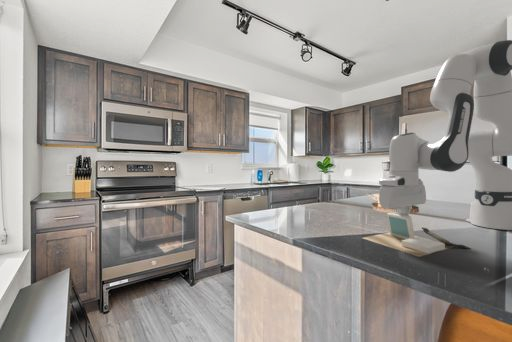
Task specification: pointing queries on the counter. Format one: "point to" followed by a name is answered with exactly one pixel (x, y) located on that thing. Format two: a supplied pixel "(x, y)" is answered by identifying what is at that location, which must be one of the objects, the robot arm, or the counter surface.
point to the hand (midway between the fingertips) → (403, 218)
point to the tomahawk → (444, 239)
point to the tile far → (400, 225)
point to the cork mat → (397, 243)
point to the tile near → (423, 245)
